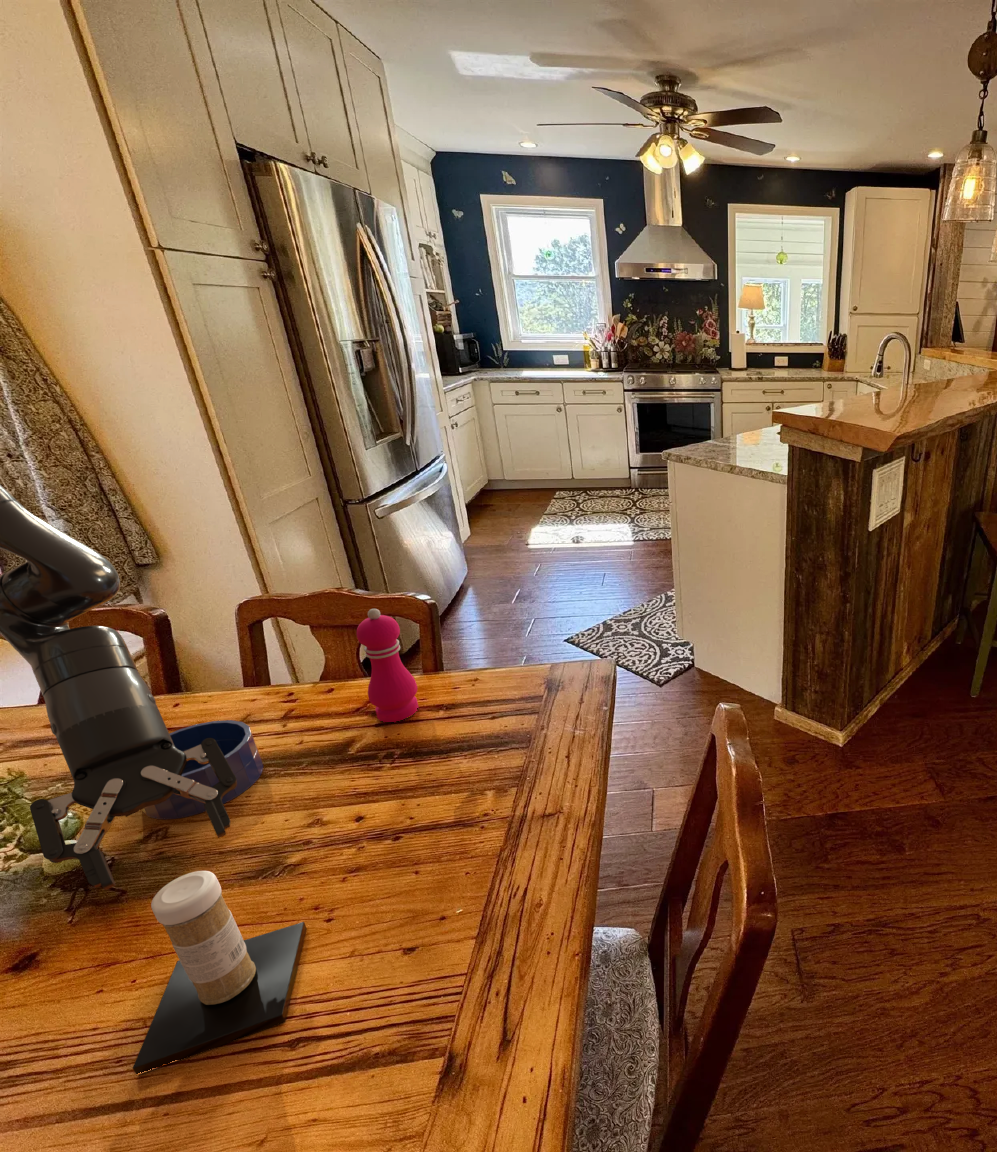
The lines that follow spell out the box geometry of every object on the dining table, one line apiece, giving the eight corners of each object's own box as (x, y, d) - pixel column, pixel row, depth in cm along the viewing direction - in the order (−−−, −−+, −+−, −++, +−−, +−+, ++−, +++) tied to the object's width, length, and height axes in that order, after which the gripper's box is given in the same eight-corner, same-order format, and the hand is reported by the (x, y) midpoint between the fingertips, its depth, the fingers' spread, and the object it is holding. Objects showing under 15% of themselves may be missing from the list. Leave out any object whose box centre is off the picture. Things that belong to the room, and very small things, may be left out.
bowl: (123, 831, 81) (104, 793, 78) (162, 768, 92) (147, 733, 89) (250, 801, 86) (236, 765, 84) (272, 745, 97) (260, 711, 95)
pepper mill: (393, 698, 110) (369, 598, 102) (430, 702, 109) (408, 601, 101) (364, 722, 103) (334, 617, 96) (403, 727, 102) (377, 621, 95)
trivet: (136, 1076, 55) (131, 1068, 55) (180, 968, 64) (176, 960, 64) (285, 1022, 60) (282, 1014, 59) (307, 928, 69) (304, 921, 68)
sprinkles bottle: (225, 961, 64) (180, 867, 59) (268, 963, 64) (228, 868, 59) (186, 1007, 60) (134, 909, 54) (232, 1008, 60) (185, 911, 54)
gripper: (199, 703, 72) (255, 826, 70) (16, 764, 62) (74, 910, 60) (194, 681, 67) (254, 813, 65) (-7, 743, 57) (56, 903, 54)
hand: (168, 860), depth 62 cm, fingers open, 8 cm apart
